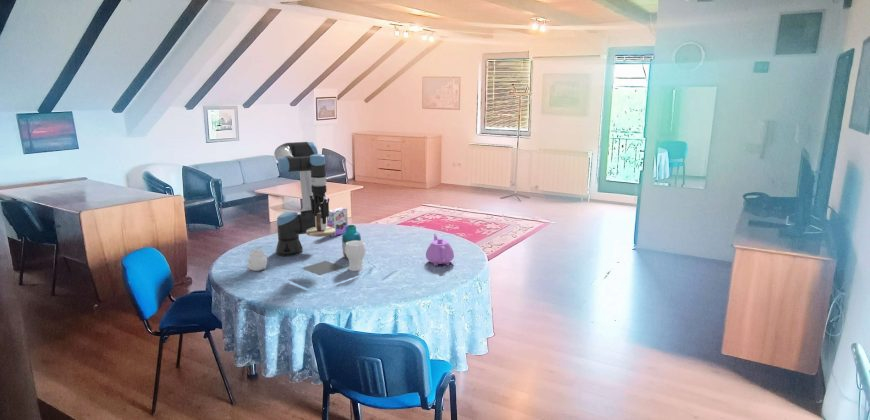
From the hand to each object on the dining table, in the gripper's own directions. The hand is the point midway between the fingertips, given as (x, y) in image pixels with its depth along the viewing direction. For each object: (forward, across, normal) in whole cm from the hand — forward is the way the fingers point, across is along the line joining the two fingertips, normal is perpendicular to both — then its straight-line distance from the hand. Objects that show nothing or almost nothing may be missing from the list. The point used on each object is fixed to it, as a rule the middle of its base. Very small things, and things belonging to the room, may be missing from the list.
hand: (320, 228), depth 279 cm
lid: (+2, 0, 0) cm, 2 cm away
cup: (+23, +14, +11) cm, 29 cm away
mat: (+23, 0, 0) cm, 23 cm away
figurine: (+23, -24, -23) cm, 41 cm away
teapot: (+23, +40, +50) cm, 67 cm away
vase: (+23, -2, +22) cm, 32 cm away
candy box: (+23, -48, +49) cm, 72 cm away
